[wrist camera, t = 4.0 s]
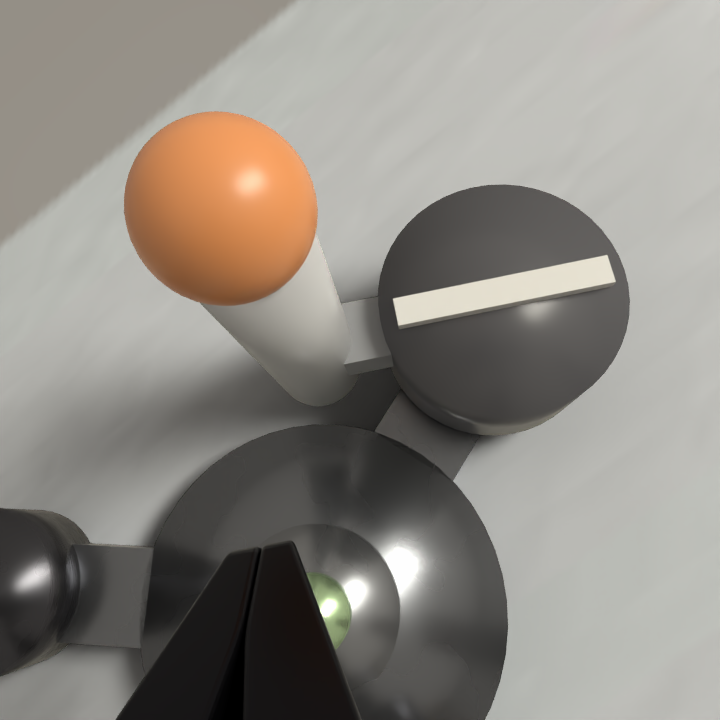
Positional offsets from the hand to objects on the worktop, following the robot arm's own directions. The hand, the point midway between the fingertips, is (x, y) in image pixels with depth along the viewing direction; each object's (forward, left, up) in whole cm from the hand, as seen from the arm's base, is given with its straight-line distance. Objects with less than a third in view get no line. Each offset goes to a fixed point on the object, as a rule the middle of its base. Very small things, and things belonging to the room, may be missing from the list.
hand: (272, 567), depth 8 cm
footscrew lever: (+6, +1, -9) cm, 11 cm away
